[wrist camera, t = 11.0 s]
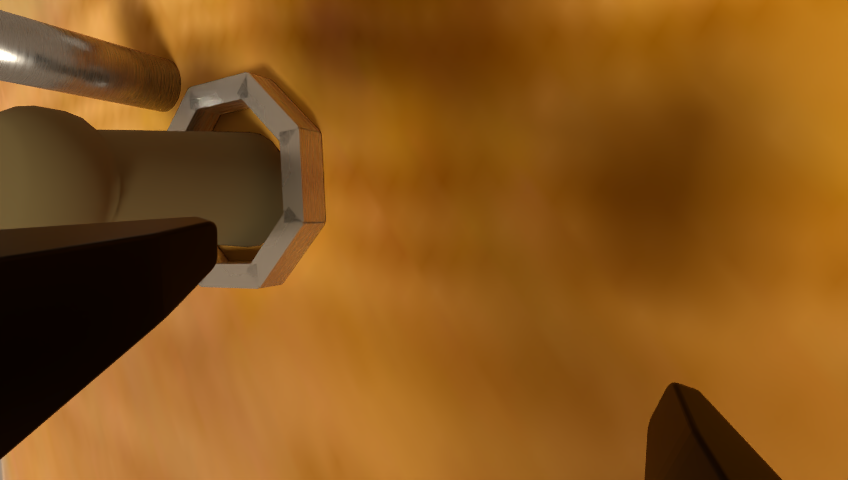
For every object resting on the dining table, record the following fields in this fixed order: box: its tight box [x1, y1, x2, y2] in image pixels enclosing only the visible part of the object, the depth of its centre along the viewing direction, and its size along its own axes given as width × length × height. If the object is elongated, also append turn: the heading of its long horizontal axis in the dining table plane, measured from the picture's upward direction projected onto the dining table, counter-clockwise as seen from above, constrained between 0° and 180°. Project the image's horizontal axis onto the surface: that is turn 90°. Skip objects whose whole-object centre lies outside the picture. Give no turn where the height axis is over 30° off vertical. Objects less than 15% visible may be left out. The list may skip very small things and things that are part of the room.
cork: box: [0, 106, 284, 247], centre depth 21 cm, size 6×6×11 cm
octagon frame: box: [0, 10, 325, 289], centre depth 23 cm, size 16×10×9 cm, turn 47°
